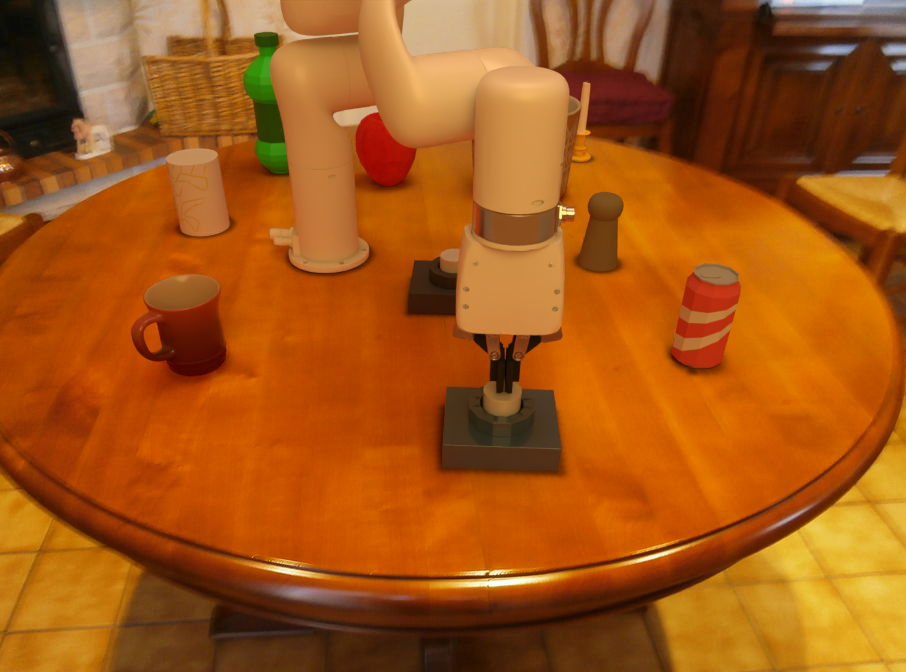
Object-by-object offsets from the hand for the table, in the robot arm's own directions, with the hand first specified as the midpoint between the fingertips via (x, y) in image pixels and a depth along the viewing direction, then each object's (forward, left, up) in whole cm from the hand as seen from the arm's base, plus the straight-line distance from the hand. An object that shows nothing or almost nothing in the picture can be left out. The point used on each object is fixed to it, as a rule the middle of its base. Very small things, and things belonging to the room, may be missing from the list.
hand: (503, 385), depth 76 cm
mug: (-38, +11, -8) cm, 40 cm away
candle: (+18, +91, -8) cm, 93 cm away
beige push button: (0, 0, -3) cm, 3 cm away
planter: (+5, +71, -8) cm, 72 cm away
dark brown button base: (-6, +31, -7) cm, 33 cm away
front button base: (0, 0, -7) cm, 7 cm away
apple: (-20, +75, -8) cm, 78 cm away
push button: (-6, +31, -3) cm, 32 cm away
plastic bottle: (-42, +81, -8) cm, 92 cm away
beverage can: (+25, +17, -8) cm, 31 cm away
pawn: (+16, +43, -8) cm, 47 cm away
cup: (-49, +53, -8) cm, 73 cm away
